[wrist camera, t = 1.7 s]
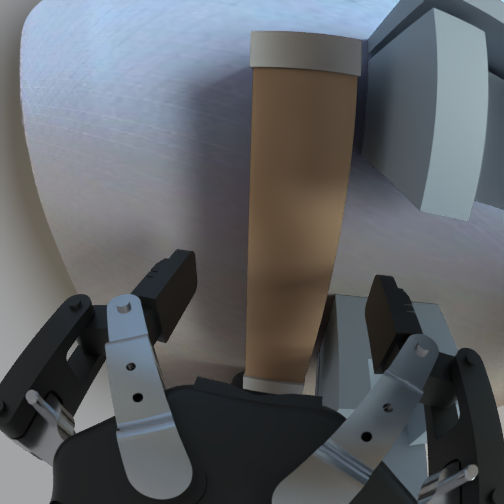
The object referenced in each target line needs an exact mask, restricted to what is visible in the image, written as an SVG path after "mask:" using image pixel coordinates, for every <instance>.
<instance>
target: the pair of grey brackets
mask: <svg viewBox="0 0 504 504" xmlns="http://www.w3.org/2000/svg"><path fill="white" fill-rule="evenodd" d="M368 54H372V55H374V56H373V57H372V58H371V59H370V60H369V61H368V83H367V102H366V116H365V128H364V138H363V147H362V157H363V158H364V159H365V160H366V161H368V162H369V163H370V164H371V165H372V166H373V167H374V168H376V169H377V170H378V171H379V172H380V173H381V174H382V175H383V176H385V177H386V178H387V179H388V180H389V181H390V182H391V183H392V184H393V185H394V186H395V187H396V188H397V189H398V190H399V191H400V192H401V193H403V194H404V195H405V196H406V197H407V198H408V199H409V200H410V201H411V202H412V203H413V204H414V205H415V207H416V208H417V209H418V210H419V211H422V212H427V213H431V214H436V215H441V216H445V217H450V218H454V219H459V220H463V221H467V222H468V221H469V217H470V214H471V210H472V206H473V202H474V201H478V202H481V203H484V204H487V205H491V206H494V207H497V208H500V209H503V210H504V2H502V1H501V0H400V1H399V3H398V4H397V5H396V6H395V7H394V9H393V10H392V11H391V12H390V13H389V15H388V16H387V17H386V18H385V19H384V21H383V22H382V23H381V24H380V25H379V27H378V28H377V29H376V30H375V32H374V33H373V34H372V35H371V36H370V38H369V39H368ZM367 299H368V298H364V297H355V296H346V295H337V294H336V295H335V299H334V302H333V306H332V310H331V314H330V317H329V321H328V324H327V328H326V331H325V335H324V338H323V342H322V345H321V350H320V352H319V355H318V358H317V373H316V389H315V396H323V398H322V405H323V406H326V407H329V408H331V409H333V410H335V411H337V412H339V413H340V414H342V415H343V416H344V417H345V418H348V417H349V416H350V415H351V414H352V413H353V412H354V410H355V409H356V408H357V407H358V406H359V404H360V403H361V402H362V401H363V400H364V398H365V397H366V396H367V395H368V393H369V392H370V391H371V389H372V388H373V387H374V386H375V384H376V383H377V382H378V380H379V379H380V378H381V376H382V375H383V374H374V370H373V363H372V356H371V349H370V343H369V337H368V331H367V325H366V320H365V306H366V302H367ZM411 303H412V306H413V308H414V310H415V313H416V315H417V318H418V321H419V323H420V326H421V329H422V332H423V334H424V335H426V336H428V337H430V338H431V339H432V340H434V342H435V343H436V344H437V346H438V349H439V352H442V353H445V354H448V355H452V356H455V355H456V354H457V352H458V350H457V347H456V345H455V342H454V340H453V337H452V335H451V333H450V330H449V328H448V326H447V323H446V321H445V319H444V317H443V315H442V312H441V310H440V308H439V306H438V304H428V303H416V302H411ZM455 403H456V408H457V413H458V417H459V416H460V411H459V406H458V401H456V402H455ZM425 443H427V431H426V421H425V412H424V404H422V403H418V404H417V406H416V408H415V410H414V411H413V413H412V415H411V417H410V418H409V420H408V422H407V423H406V425H405V427H404V428H403V430H402V431H401V433H400V434H399V436H398V438H397V439H396V441H395V442H394V444H393V445H392V447H391V448H390V449H389V451H388V452H387V454H386V455H385V456H384V458H383V459H382V461H383V462H384V463H385V464H386V465H387V466H388V468H389V469H390V470H391V471H392V472H393V473H394V475H395V476H396V477H397V478H398V479H399V480H400V481H401V483H402V484H403V485H404V486H405V487H406V488H407V489H408V491H409V492H410V493H411V494H412V495H413V496H414V497H415V499H416V500H418V499H417V496H418V493H419V492H420V489H421V486H422V484H423V483H424V481H425V480H426V479H427V478H428V476H427V461H426V450H425Z"/></svg>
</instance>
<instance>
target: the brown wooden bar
mask: <svg viewBox="0 0 504 504" xmlns="http://www.w3.org/2000/svg"><path fill="white" fill-rule="evenodd" d="M361 57H362V40H360V39H354V38H348V37H342V36H335V35H327V34H318V33H306V32H290V31H251V44H250V67H251V68H252V69H253V94H252V126H251V160H250V195H249V233H248V273H247V315H246V361H245V372H244V376H243V389H248V390H253V391H259V392H265V393H272V394H278V395H280V394H291V393H292V394H302V391H303V388H304V383H305V375H306V372H307V369H308V366H309V362H310V359H311V355H312V352H313V348H314V345H315V341H316V338H317V334H318V330H319V326H320V323H321V319H322V315H323V311H324V307H325V303H326V298H327V294H328V290H329V285H330V281H331V276H332V272H333V267H334V262H335V257H336V252H337V247H338V242H339V237H340V231H341V226H342V220H343V214H344V208H345V201H346V195H347V188H348V180H349V173H350V165H351V156H352V147H353V137H354V127H355V114H356V99H357V79H358V78H359V77H361Z"/></svg>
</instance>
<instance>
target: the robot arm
mask: <svg viewBox="0 0 504 504" xmlns="http://www.w3.org/2000/svg"><path fill="white" fill-rule="evenodd" d="M196 288H197V273H196V262H195V254H194V252H193V251H187V250H180V249H177V250H176V251H175V252H174V253H173V254H172V255H171V257H170V258H169V259H166V258H165V259H164V260H162V261H160V262H158V263H157V264H156V265H155V266H154V267H153V268H152V269H151V272H149V273H148V274H147V275H146V277H144V278H143V280H142V281H141V282H140V283H139V284H138V285H137V287H136V288H135V289H134V290H133V291H132V293H131V294H123V295H119V296H117V297H115V298H113V299H112V300H111V301H110V302H109V303H108V305H92V302H91V300H90V298H89V297H88V296H87V295H84V294H78V295H74V296H72V297H70V298H68V299H67V300H66V301H65V302H64V303H63V304H62V305H61V306H60V307H59V308H58V309H57V311H56V312H55V313H54V314H53V315H52V316H51V318H50V319H49V320H48V321H47V322H46V323H45V325H44V326H43V327H42V328H41V329H40V331H39V332H38V333H37V334H36V336H35V337H34V338H33V339H32V341H31V342H30V343H29V345H28V346H27V347H26V348H25V350H24V351H23V352H22V354H21V355H20V356H19V358H18V359H17V360H16V362H15V363H14V365H13V366H12V367H11V369H10V370H9V372H8V373H7V374H6V376H5V377H4V379H3V380H2V382H1V383H0V430H1V431H2V432H3V433H4V434H5V435H6V436H7V437H8V438H9V439H11V440H12V441H13V442H15V443H16V444H17V445H19V446H20V447H21V448H23V449H24V450H25V451H28V452H30V453H31V454H33V455H34V456H36V457H37V458H38V459H41V460H44V461H45V462H47V463H48V464H50V465H51V466H52V467H53V492H52V498H51V501H50V504H504V439H503V433H502V428H501V423H500V419H499V414H498V411H497V406H496V402H495V399H494V395H493V392H492V388H491V385H490V382H489V379H488V376H487V373H486V370H485V367H484V364H483V361H482V359H481V357H480V356H479V355H478V354H477V353H476V352H475V351H474V350H472V349H469V348H462V349H460V350H459V351H458V352H457V354H456V355H455V356H452V355H448V354H445V353H442V352H439V349H438V346H437V344H436V343H435V342H434V340H432V339H431V338H430V337H428V336H426V335H424V334H423V332H422V329H421V326H420V323H419V321H418V318H417V315H416V313H415V310H414V308H413V306H412V303H411V300H410V298H409V296H408V295H407V294H406V293H405V292H404V291H403V289H399V288H398V287H397V285H396V282H395V280H394V278H393V277H392V276H385V275H376V276H375V278H374V281H373V284H372V287H371V290H370V293H369V296H368V299H367V302H366V306H365V320H366V325H367V331H368V337H369V343H370V349H371V356H372V363H373V370H374V374H383V375H382V376H381V378H380V379H379V380H378V382H377V383H376V384H375V386H374V387H373V388H372V389H371V391H370V392H369V393H368V395H367V396H366V397H365V398H364V400H363V401H362V402H361V403H360V404H359V406H358V407H357V408H356V409H355V410H354V412H353V413H352V414H351V415H350V416H349V417H348V418H345V417H344V416H343V415H342V414H340V413H339V412H337V411H335V410H333V409H331V408H329V407H326V406H323V405H322V398H323V396H312V395H301V394H292V393H291V394H280V395H266V396H258V395H254V394H252V393H249V392H247V391H244V390H242V389H239V388H237V387H235V386H232V385H230V384H228V383H224V382H219V381H215V380H210V379H206V378H201V377H197V379H196V382H195V384H194V385H182V386H176V387H173V388H169V389H167V387H166V384H165V382H164V378H163V375H162V372H161V369H160V366H159V362H158V359H157V356H156V352H155V349H154V344H155V343H156V341H160V342H164V343H167V341H168V339H169V337H170V335H171V334H172V332H173V330H174V328H175V327H176V325H177V323H178V321H179V320H180V318H181V316H182V314H183V313H184V311H185V309H186V307H187V306H188V304H189V302H190V300H191V299H192V297H193V295H194V294H195V291H196ZM75 340H77V342H78V344H79V345H78V346H77V348H76V349H75V351H74V352H73V353H72V355H71V357H70V358H69V359H68V361H67V360H66V356H67V352H68V350H69V349H70V347H71V346H72V344H73V343H74V342H75ZM105 360H107V368H108V376H109V383H110V389H111V396H112V402H113V407H114V412H115V416H113V417H111V418H109V419H107V420H105V421H103V422H101V423H99V424H96V425H95V426H92V427H90V428H88V429H85V430H83V431H81V432H79V433H76V434H75V430H74V427H75V423H74V418H73V417H74V415H75V413H76V411H77V409H78V407H79V405H80V403H81V402H82V400H83V398H84V396H85V395H86V393H87V391H88V389H89V387H90V386H91V384H92V382H93V380H94V379H95V377H96V375H97V373H98V371H99V370H100V368H101V367H102V365H103V363H104V362H105ZM456 401H458V406H459V411H460V417H459V419H458V413H457V408H456V403H455V402H456ZM418 403H422V404H424V412H425V421H426V431H427V444H428V462H429V463H428V465H429V477H428V478H427V479H426V480H425V481H424V483H423V484H422V486H421V489H420V492H419V493H418V496H417V499H418V500H416V499H415V497H414V496H413V495H412V494H411V493H410V492H409V491H408V489H407V488H406V487H405V486H404V485H403V484H402V483H401V481H400V480H399V479H398V478H397V477H396V476H395V475H394V473H393V472H392V471H391V470H390V469H389V468H388V466H387V465H386V464H385V463H384V462H383V461H382V459H383V458H384V456H385V455H386V454H387V452H388V451H389V449H390V448H391V447H392V445H393V444H394V442H395V441H396V439H397V438H398V436H399V434H400V433H401V431H402V430H403V428H404V427H405V425H406V423H407V422H408V420H409V418H410V417H411V415H412V413H413V411H414V410H415V408H416V406H417V404H418Z"/></svg>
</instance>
